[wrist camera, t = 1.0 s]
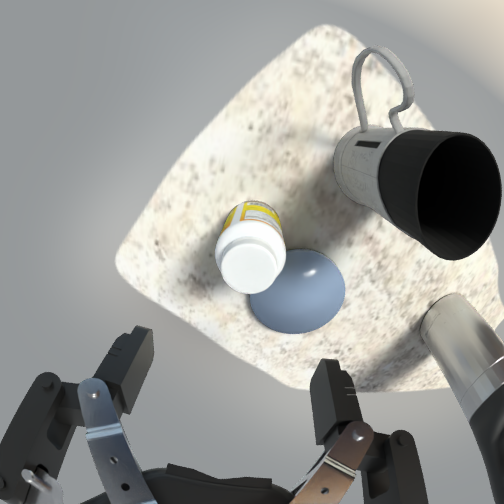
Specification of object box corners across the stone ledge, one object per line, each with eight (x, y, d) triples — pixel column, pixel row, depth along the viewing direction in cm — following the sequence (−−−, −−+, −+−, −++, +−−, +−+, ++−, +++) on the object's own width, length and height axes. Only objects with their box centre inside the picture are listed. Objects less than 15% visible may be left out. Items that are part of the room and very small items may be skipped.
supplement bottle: (238, 256, 30) (226, 311, 20) (219, 209, 28) (195, 247, 18) (287, 240, 29) (298, 292, 19) (270, 191, 27) (274, 221, 17)
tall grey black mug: (355, 220, 27) (425, 295, 14) (289, 100, 23) (319, 54, 9) (418, 184, 25) (513, 229, 12) (360, 66, 21) (442, 18, 7)
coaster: (355, 258, 29) (358, 262, 28) (326, 333, 34) (327, 338, 33) (260, 240, 29) (260, 243, 28) (243, 321, 33) (242, 326, 32)
